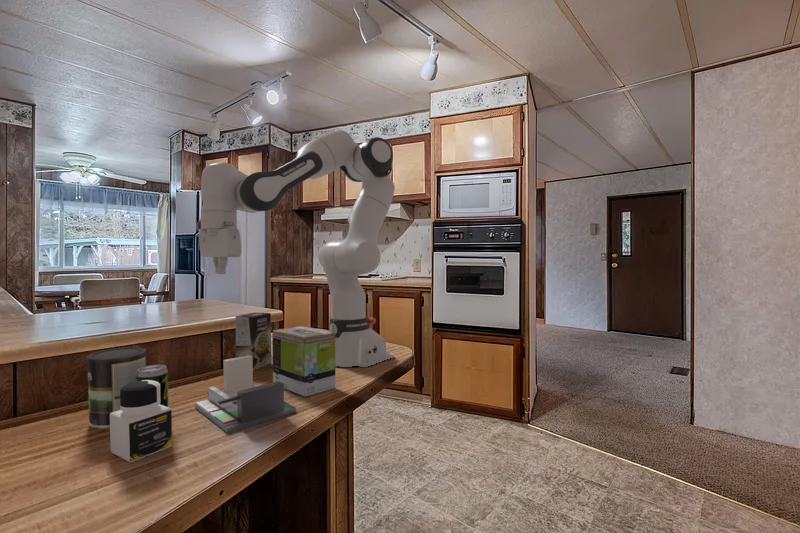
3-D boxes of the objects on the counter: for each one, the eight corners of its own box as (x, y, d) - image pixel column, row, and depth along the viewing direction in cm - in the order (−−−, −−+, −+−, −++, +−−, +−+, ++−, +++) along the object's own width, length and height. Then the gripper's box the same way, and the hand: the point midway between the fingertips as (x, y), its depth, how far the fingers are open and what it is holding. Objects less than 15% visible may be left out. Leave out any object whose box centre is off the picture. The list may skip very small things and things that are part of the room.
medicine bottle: (130, 463, 68) (128, 392, 68) (109, 452, 72) (108, 385, 72) (173, 446, 75) (171, 381, 74) (152, 437, 78) (150, 374, 78)
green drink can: (137, 435, 79) (136, 373, 78) (137, 425, 83) (135, 367, 83) (170, 429, 82) (168, 369, 81) (167, 419, 86) (166, 363, 86)
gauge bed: (258, 392, 103) (258, 364, 103) (296, 411, 90) (295, 380, 90) (195, 408, 93) (194, 377, 93) (227, 433, 80) (226, 397, 80)
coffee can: (81, 432, 80) (79, 361, 80) (96, 413, 90) (94, 349, 89) (143, 424, 84) (141, 355, 84) (151, 406, 94) (149, 345, 93)
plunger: (250, 396, 97) (249, 355, 96) (268, 406, 90) (267, 362, 90) (204, 407, 89) (203, 363, 89) (220, 420, 83) (219, 372, 83)
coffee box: (253, 371, 121) (252, 316, 120) (235, 369, 123) (234, 315, 122) (272, 363, 130) (271, 312, 129) (255, 361, 132) (254, 311, 131)
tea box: (337, 388, 106) (336, 331, 106) (304, 398, 99) (303, 337, 98) (303, 376, 117) (303, 324, 116) (271, 384, 109) (270, 329, 109)
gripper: (247, 221, 107) (248, 274, 107) (217, 225, 121) (218, 272, 122) (222, 220, 102) (223, 275, 103) (194, 224, 117) (195, 272, 118)
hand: (220, 273), depth 113 cm, fingers closed
